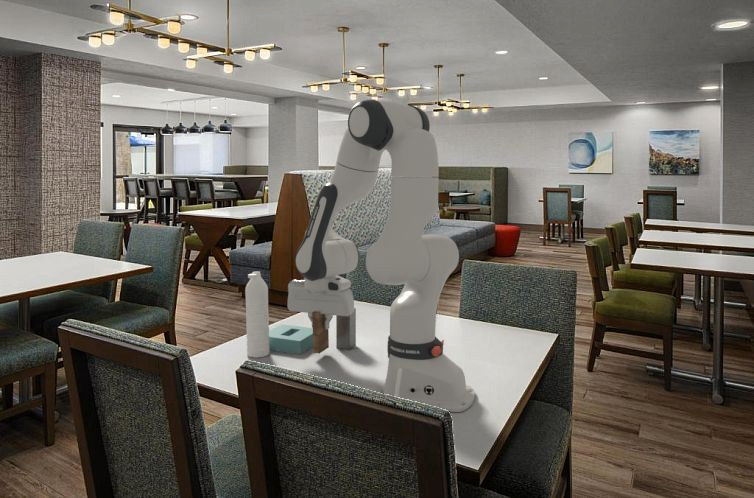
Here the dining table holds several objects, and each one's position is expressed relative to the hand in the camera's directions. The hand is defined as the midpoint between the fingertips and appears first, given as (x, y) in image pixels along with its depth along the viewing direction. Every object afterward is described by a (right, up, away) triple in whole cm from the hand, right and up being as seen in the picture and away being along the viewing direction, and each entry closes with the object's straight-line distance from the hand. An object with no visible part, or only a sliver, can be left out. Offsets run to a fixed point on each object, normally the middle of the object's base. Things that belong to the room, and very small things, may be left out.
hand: (320, 328), depth 157 cm
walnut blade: (0, -7, +1) cm, 7 cm away
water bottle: (-19, -9, +1) cm, 21 cm away
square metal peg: (+7, -7, +9) cm, 14 cm away
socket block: (-11, -7, +11) cm, 17 cm away
